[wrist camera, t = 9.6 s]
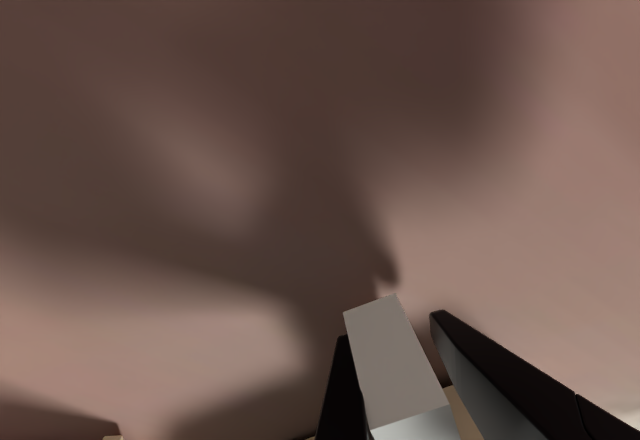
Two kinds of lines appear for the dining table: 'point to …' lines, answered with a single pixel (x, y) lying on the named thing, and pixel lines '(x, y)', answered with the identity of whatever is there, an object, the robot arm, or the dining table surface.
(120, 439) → the flap
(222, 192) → the dining table surface
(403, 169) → the dining table surface
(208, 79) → the dining table surface
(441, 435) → the flap
